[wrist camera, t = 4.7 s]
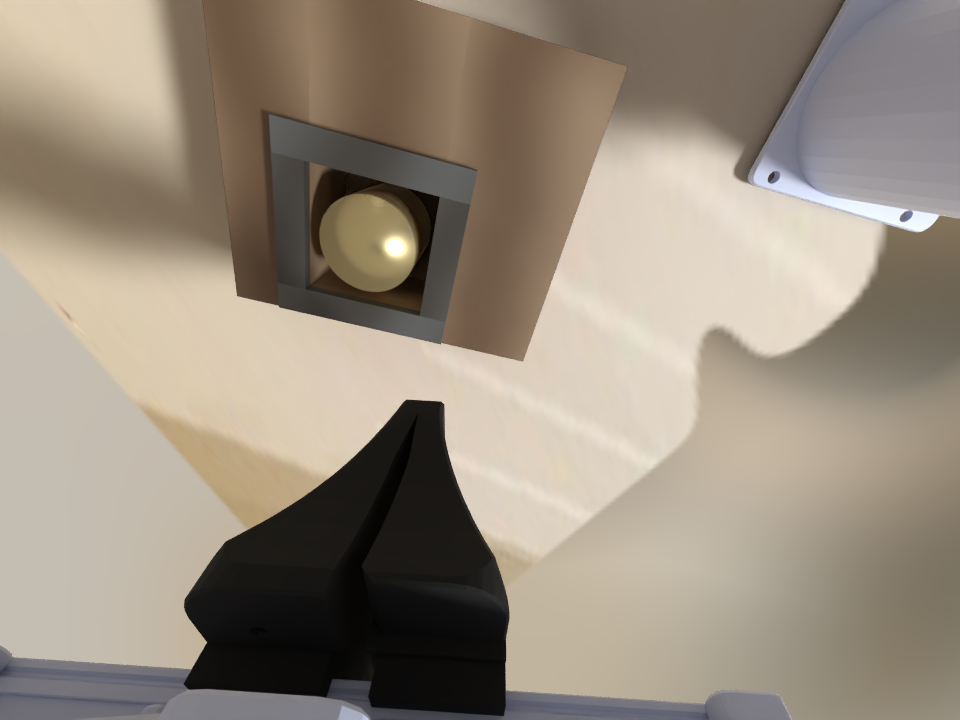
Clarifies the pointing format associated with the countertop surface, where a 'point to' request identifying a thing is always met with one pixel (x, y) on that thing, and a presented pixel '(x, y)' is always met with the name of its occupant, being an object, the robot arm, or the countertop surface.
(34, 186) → the countertop surface
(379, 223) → the peg
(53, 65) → the countertop surface
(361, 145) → the socket block
